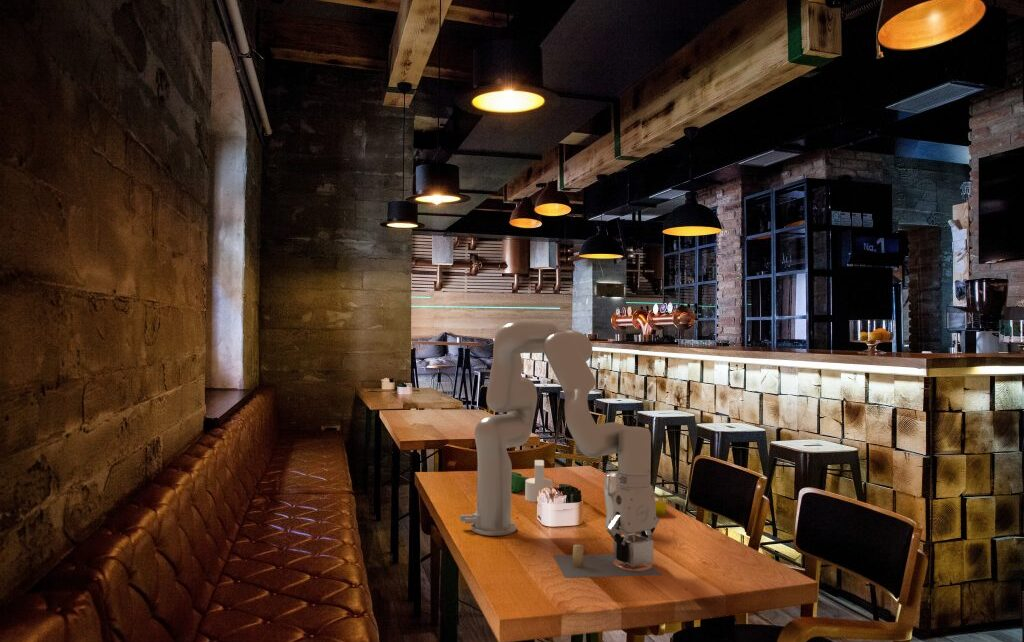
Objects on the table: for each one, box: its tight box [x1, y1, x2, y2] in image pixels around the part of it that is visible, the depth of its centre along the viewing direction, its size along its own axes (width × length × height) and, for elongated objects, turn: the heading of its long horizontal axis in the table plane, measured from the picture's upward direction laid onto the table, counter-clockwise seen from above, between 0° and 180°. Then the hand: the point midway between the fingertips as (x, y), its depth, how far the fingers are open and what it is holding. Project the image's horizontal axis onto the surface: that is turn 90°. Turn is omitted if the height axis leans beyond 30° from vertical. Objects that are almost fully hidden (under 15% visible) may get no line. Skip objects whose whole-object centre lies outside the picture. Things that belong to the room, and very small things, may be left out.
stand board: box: [553, 543, 662, 579], centre depth 149 cm, size 22×14×6 cm, turn 97°
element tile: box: [654, 494, 667, 517], centre depth 202 cm, size 15×15×5 cm
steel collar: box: [613, 533, 654, 567], centre depth 150 cm, size 6×6×5 cm
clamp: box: [511, 471, 530, 493], centre depth 226 cm, size 12×6×9 cm, turn 19°
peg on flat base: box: [613, 559, 653, 571], centre depth 150 cm, size 9×9×4 cm
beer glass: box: [603, 471, 618, 531], centre depth 183 cm, size 7×7×15 cm
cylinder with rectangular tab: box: [524, 459, 554, 503], centre depth 213 cm, size 9×9×12 cm
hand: (633, 557), depth 150 cm, fingers closed on steel collar, 6 cm apart
